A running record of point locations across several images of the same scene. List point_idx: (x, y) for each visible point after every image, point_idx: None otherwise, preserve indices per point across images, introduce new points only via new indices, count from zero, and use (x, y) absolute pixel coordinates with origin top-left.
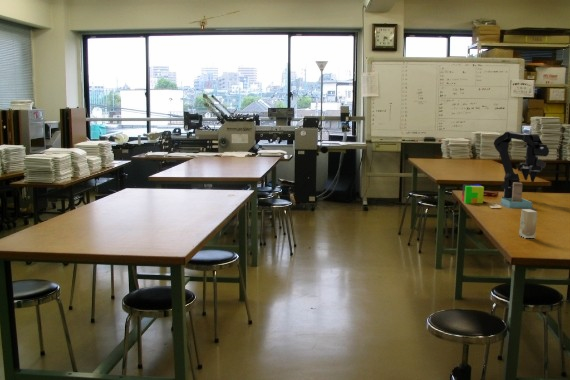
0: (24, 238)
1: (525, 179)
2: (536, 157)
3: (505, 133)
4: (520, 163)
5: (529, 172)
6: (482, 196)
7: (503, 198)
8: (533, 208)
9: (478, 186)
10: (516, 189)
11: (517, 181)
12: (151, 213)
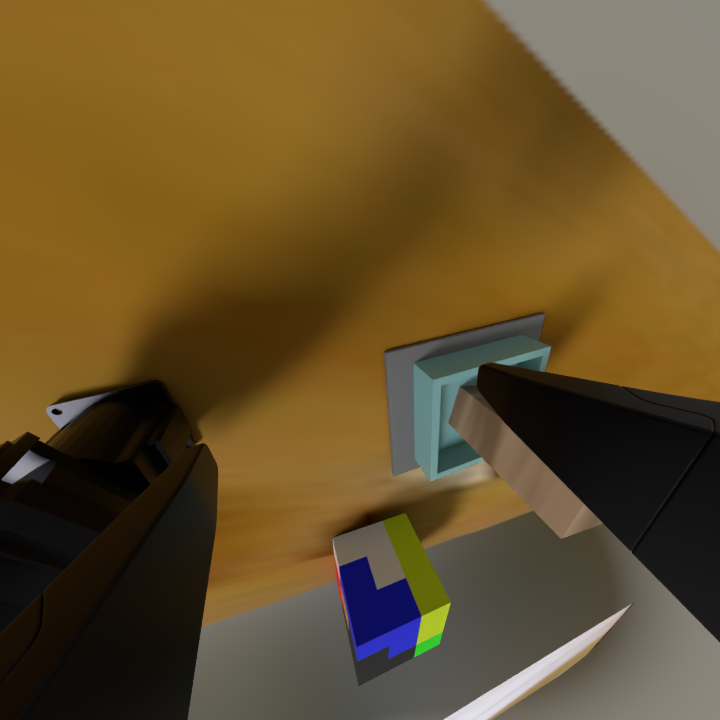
0: (562, 671)
1: (213, 473)
2: None
3: None
4: None
5: (687, 582)
6: (421, 548)
7: (437, 472)
8: (534, 328)
9: (425, 624)
10: None
11: (60, 531)
12: (495, 704)
